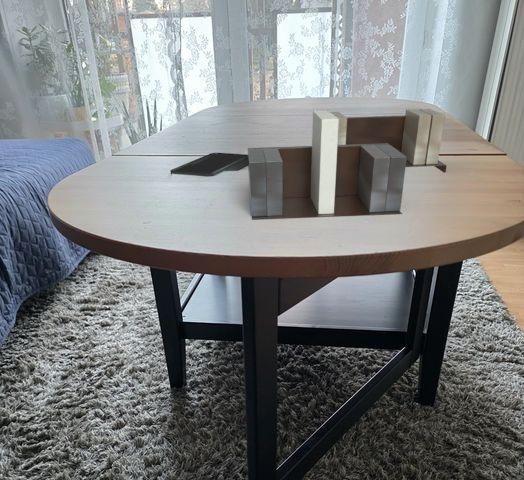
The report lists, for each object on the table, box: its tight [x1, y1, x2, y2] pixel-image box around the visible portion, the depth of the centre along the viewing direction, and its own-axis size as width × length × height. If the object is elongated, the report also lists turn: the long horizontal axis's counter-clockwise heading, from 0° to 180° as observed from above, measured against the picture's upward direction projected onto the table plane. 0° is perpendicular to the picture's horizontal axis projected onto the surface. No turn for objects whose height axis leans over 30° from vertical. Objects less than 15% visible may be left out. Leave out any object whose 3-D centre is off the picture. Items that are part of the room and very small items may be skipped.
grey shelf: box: [247, 143, 407, 221], centre depth 60 cm, size 17×9×7 cm, turn 93°
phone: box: [169, 152, 248, 178], centre depth 82 cm, size 8×1×15 cm
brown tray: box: [330, 108, 447, 173], centre depth 79 cm, size 18×9×8 cm, turn 93°
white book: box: [311, 110, 339, 214], centre depth 58 cm, size 2×7×10 cm, turn 3°
